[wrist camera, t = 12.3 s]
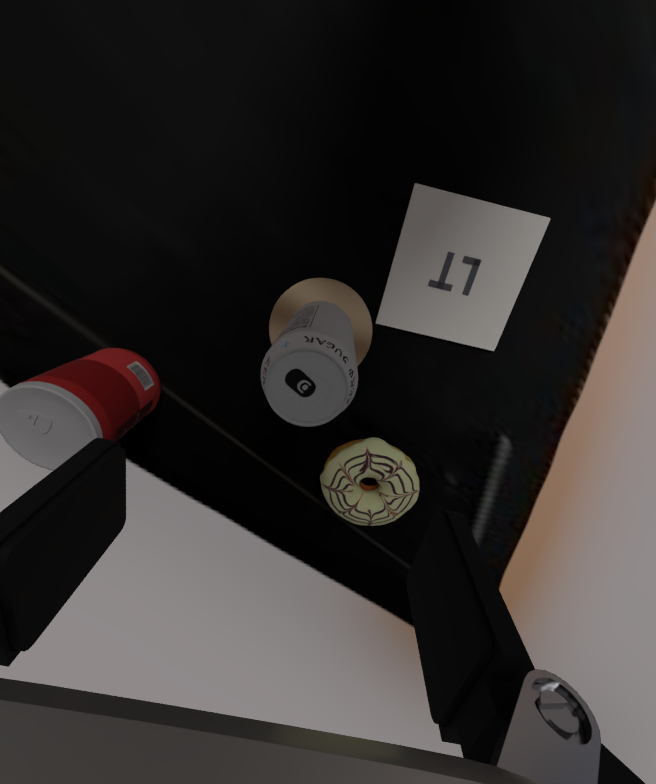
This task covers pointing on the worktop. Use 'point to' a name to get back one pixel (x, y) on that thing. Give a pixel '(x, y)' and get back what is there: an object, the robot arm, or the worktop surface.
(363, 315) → the cork coaster
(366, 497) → the decorated donut
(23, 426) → the canned food
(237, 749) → the robot arm
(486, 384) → the worktop surface
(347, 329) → the energy drink can
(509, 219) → the tile
